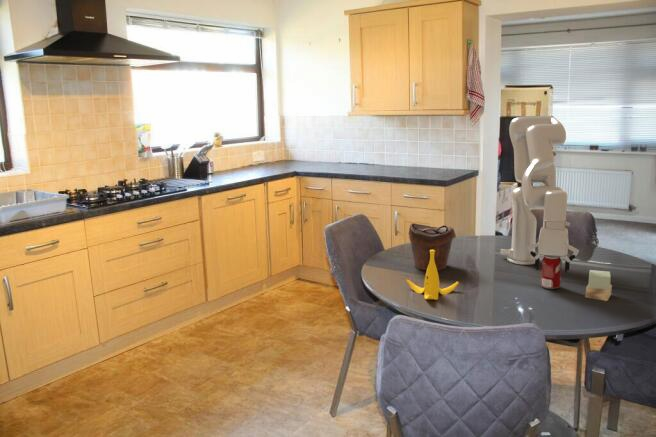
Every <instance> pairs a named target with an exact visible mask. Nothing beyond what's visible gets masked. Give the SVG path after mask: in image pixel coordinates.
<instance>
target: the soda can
mask: <svg viewBox="0 0 656 437" xmlns="http://www.w3.org/2000/svg"><path fill="white" fill-rule="evenodd" d="M562 264H563V261H562V259H561V257H558V256H546V255H543V258H542V259H541V273H540V274H541V275H540V286H541V287H543V288H544V289H546V290H556V289H559V288H560V287H561V281H562V279H561V278H562V268H563V267H562Z"/></svg>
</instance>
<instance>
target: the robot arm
mask: <svg viewBox="0 0 656 437" xmlns="http://www.w3.org/2000/svg"><path fill="white" fill-rule="evenodd" d="M508 131H509V132H508V134H509V137H510V141H511V144H512V148H513V155H514V156H513V159H514V162H513V163H514V167H513V168H514V178H515V181H516V182H518V183H520V184H521V186H518V187H516V188H514V189H513V190H512V191H511V195H510V196H511V198H510V200H511V206H512V223H511V224H512V229H511V248H507V249H505V248H504V249H503V248H500V254H502V255H504V256H507V257H506V259H507V260H506V261H508V262H509V263H512V264H516V265H521V266H522V265H524V266H525V265H526V266H527V265H529V266H530V265H534V268H536V271H539V270H540V260H541V259H540V257H541V256H544V255H546V256H558V257H560V258H561V257H562V258H563V259H564V260H565V262H564V273H566V274H567V273H568V271H570V264H571V262H572V261H573V260H574V259H575V258H576V257H577V256H578V254H579V252H580V250H579V249H578V248H576V247H574V246H572V245H570V244H569V230H568V228H567V227H571V222H569V221H567V208H568V193H567V192H566V191H564V190H563V189H562V188H561V187H560V186H557V176H556V175H557V172H556V166H555V164H554V163H555V162H554V161H555V157H554V152H553V147H556V146H557V147H558V146H559V147H560V146H562V145H564V144H565V142H566V140H567V132H566V129H565V126H564V124H562V122H560V120H558V119H557V118H556V117H555V116H552V115H527V116H525V115H524V116H517V117H515V118H513V119H512V120H510V124H509V127H508ZM552 146H553V147H552ZM532 184H541V185H532ZM532 210H533V211H534V210H543V218H542V220H543V221H542V222H543V223H542V226H541V227H540V231H539V235H538V241H537V240H536V238H537V225H538V223H537V218H536V216H535V215H534V213H533V212H532ZM536 241H537V242H536ZM536 248H537V252H536ZM569 250H570V251H571V252H573V253H572V254H571V255H569V254H568V253H569Z"/></svg>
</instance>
